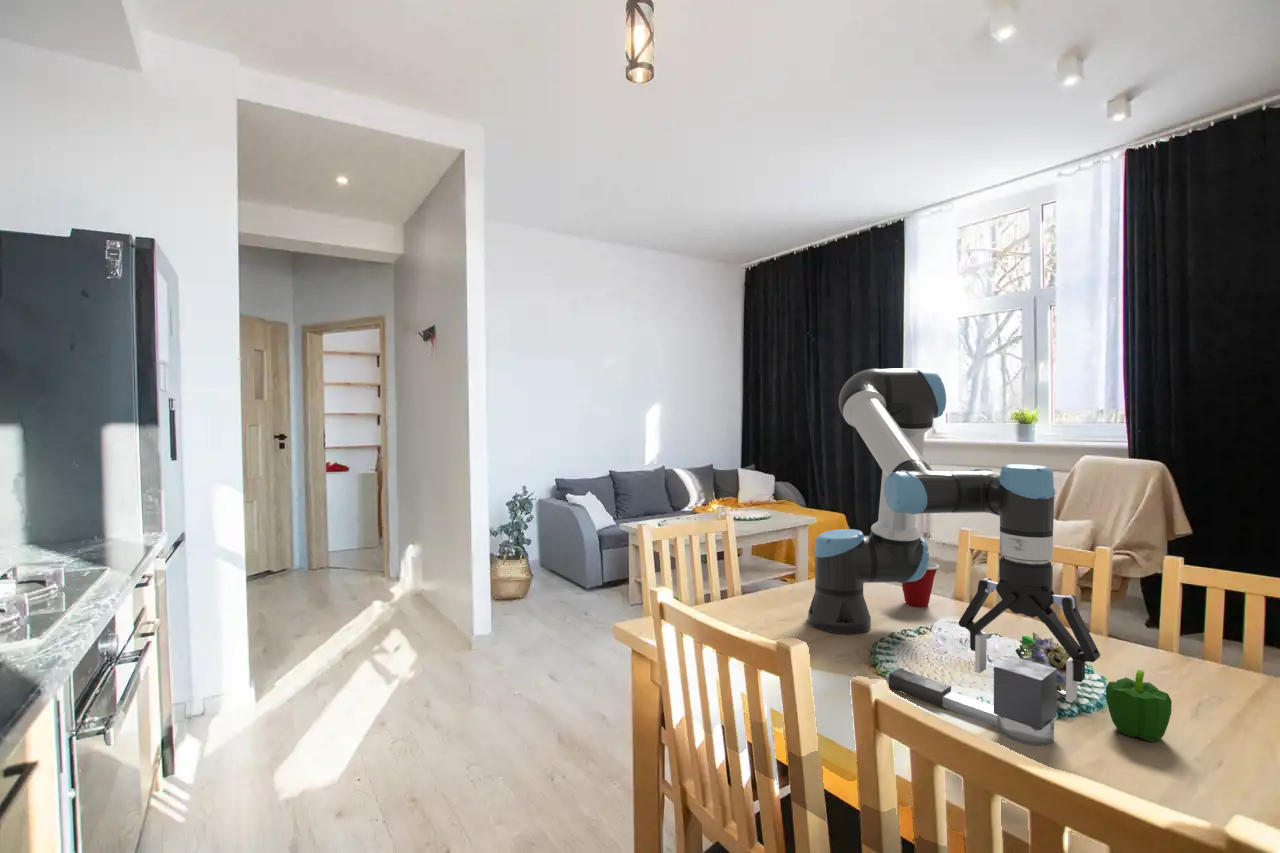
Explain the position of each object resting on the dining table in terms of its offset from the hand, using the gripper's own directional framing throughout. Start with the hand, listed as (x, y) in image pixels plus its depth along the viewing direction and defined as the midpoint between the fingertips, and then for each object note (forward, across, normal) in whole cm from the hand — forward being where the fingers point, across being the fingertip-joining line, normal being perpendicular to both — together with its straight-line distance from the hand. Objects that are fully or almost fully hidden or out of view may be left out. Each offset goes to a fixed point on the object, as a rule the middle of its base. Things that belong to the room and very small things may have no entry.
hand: (1023, 684), depth 102 cm
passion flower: (+8, -4, +22) cm, 24 cm away
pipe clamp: (+9, -7, +33) cm, 35 cm away
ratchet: (+8, -10, 0) cm, 13 cm away
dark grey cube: (+5, 0, 0) cm, 5 cm away
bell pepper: (+8, +12, +14) cm, 20 cm away
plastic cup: (+9, -45, +52) cm, 69 cm away
